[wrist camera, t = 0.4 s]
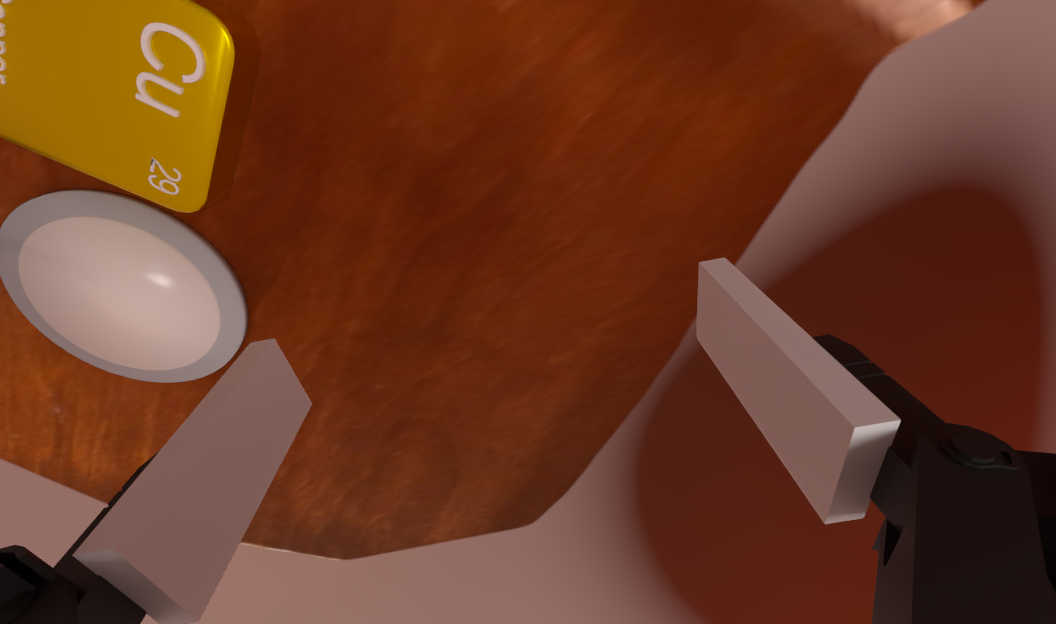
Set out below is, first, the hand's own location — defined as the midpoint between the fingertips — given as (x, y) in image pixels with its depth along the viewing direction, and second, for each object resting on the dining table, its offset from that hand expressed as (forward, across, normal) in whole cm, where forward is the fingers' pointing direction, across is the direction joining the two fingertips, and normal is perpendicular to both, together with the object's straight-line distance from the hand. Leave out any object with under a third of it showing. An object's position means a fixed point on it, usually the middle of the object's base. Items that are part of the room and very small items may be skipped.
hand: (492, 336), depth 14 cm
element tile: (+28, -25, +10) cm, 39 cm away
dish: (+27, -36, -6) cm, 46 cm away
